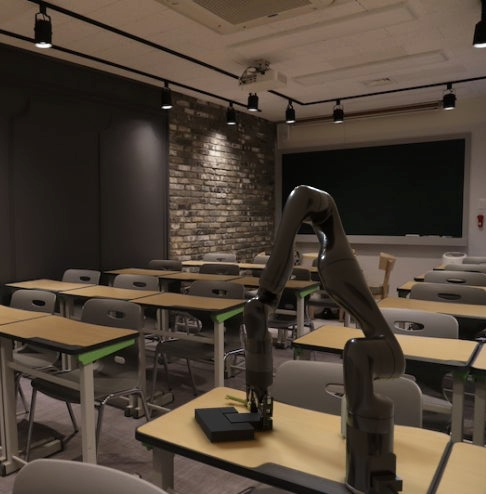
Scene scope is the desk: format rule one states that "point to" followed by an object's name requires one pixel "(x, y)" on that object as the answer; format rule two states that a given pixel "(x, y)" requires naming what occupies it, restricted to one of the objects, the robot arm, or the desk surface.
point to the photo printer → (343, 416)
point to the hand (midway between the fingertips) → (258, 424)
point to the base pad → (222, 425)
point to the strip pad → (249, 419)
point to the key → (238, 400)
